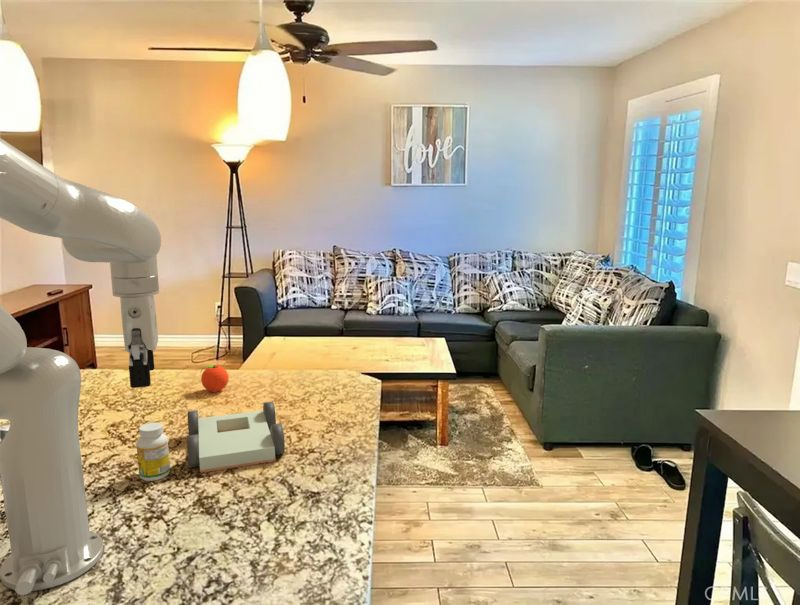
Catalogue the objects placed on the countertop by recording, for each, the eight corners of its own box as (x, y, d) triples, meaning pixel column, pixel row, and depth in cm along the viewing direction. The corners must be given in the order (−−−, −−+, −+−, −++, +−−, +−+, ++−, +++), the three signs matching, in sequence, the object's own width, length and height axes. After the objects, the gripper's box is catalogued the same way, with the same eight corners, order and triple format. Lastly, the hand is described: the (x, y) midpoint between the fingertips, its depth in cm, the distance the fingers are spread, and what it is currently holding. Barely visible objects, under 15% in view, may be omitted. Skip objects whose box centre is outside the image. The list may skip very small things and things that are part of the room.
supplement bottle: (169, 479, 105) (165, 430, 103) (137, 483, 103) (132, 434, 101) (171, 466, 110) (167, 419, 108) (141, 470, 108) (137, 422, 106)
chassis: (285, 459, 113) (284, 431, 111) (188, 474, 107) (186, 444, 105) (272, 421, 131) (271, 397, 130) (189, 432, 125) (187, 406, 124)
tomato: (193, 393, 149) (191, 367, 148) (209, 385, 155) (207, 360, 154) (219, 396, 147) (217, 370, 145) (234, 388, 153) (233, 362, 152)
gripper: (155, 292, 94) (162, 391, 97) (161, 278, 110) (167, 363, 113) (105, 294, 91) (114, 396, 94) (118, 279, 107) (125, 366, 110)
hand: (143, 378), depth 104 cm, fingers open, 9 cm apart
